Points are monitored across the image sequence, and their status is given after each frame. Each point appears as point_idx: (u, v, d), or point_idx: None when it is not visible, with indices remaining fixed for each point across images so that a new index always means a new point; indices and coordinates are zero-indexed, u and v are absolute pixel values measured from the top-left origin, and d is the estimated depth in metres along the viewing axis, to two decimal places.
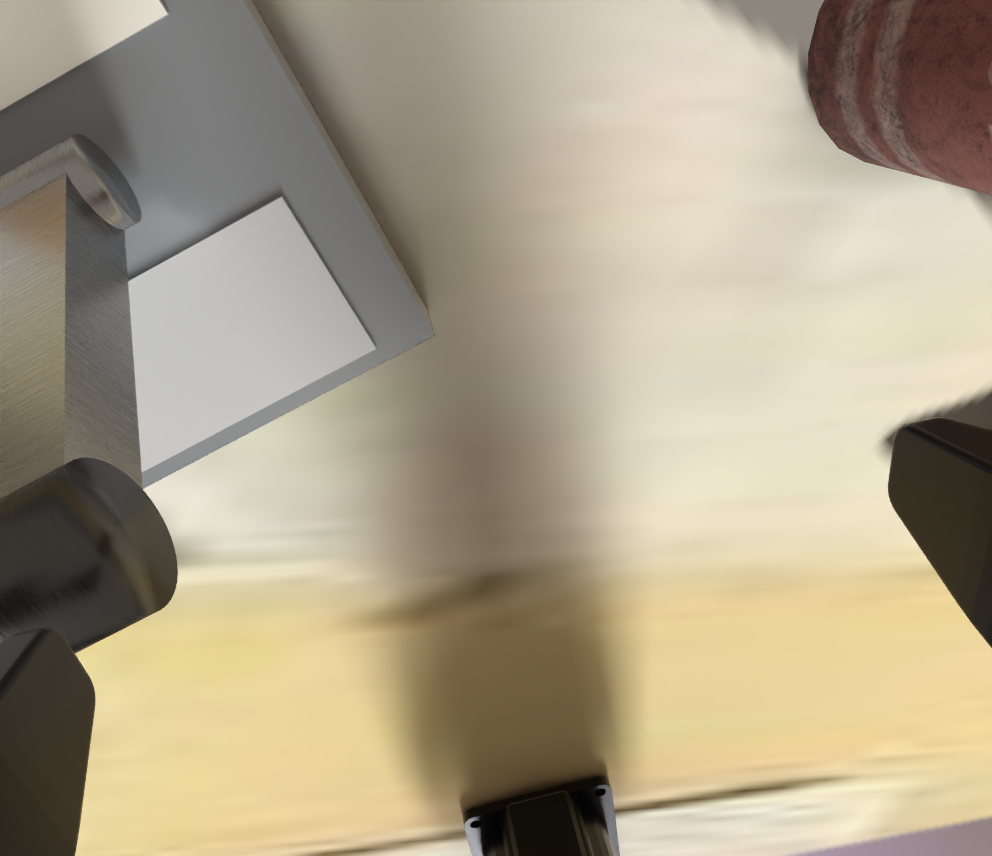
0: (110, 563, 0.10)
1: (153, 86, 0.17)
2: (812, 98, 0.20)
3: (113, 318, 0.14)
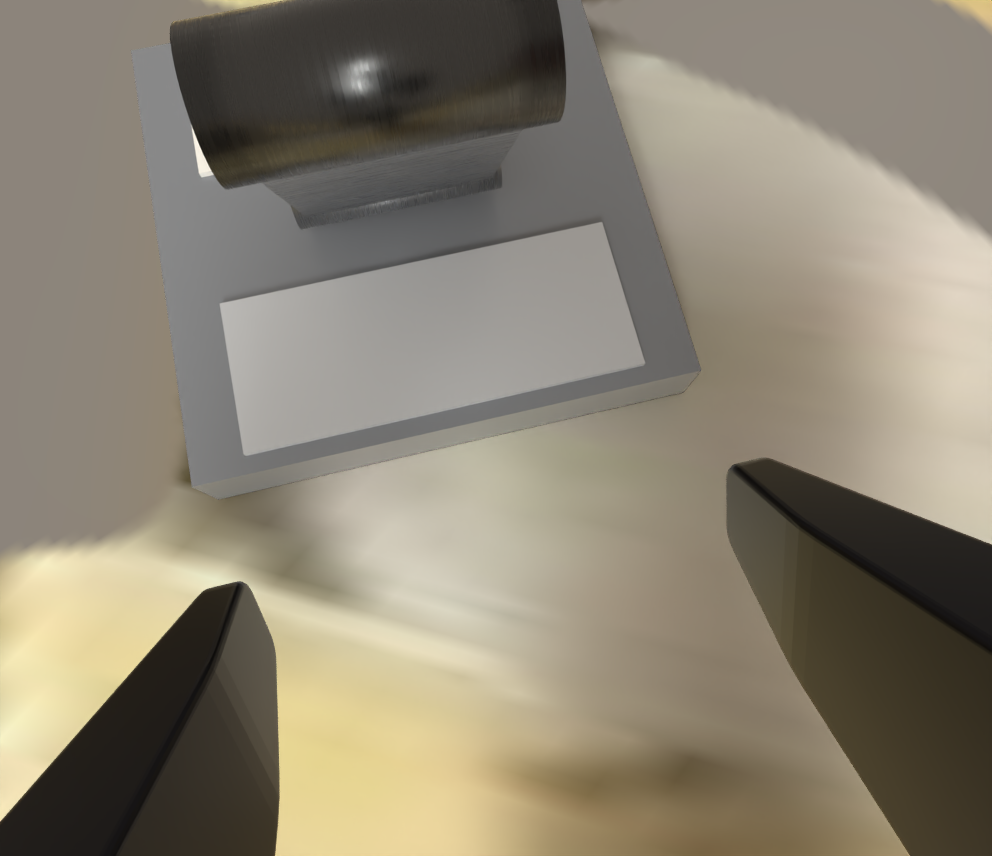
0: None
1: (535, 139, 0.23)
2: None
3: None
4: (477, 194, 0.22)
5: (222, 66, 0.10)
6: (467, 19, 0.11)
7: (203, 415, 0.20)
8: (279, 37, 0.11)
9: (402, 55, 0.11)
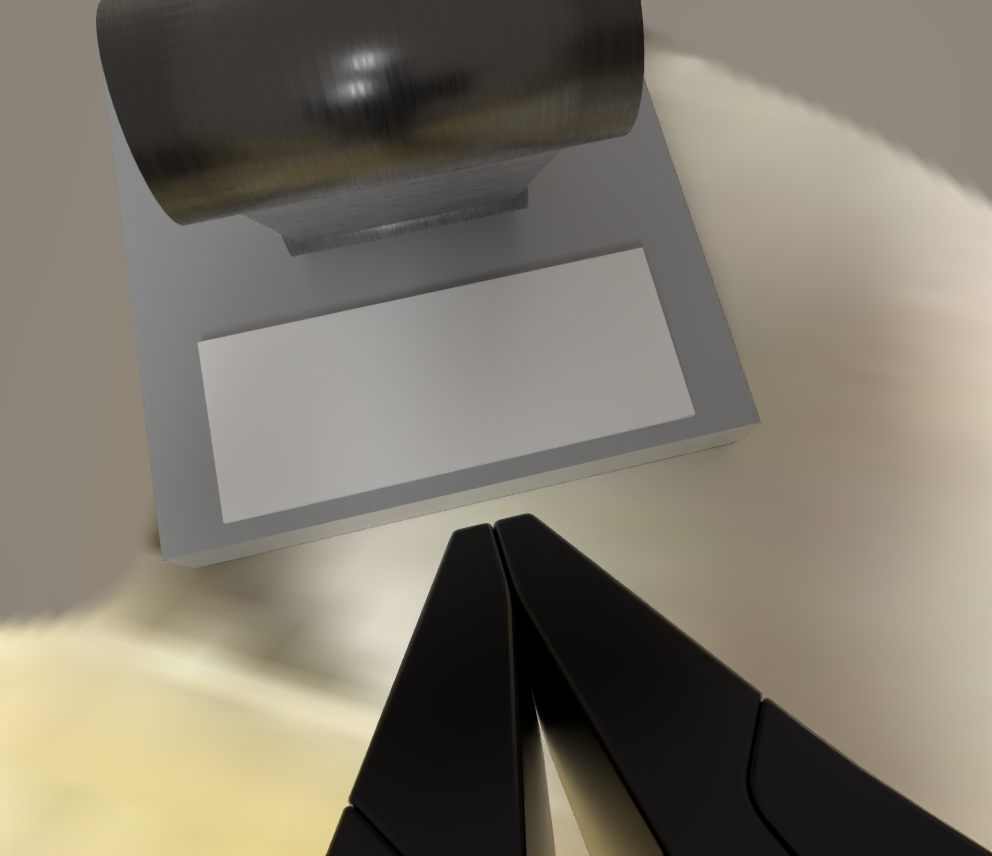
0: None
1: (563, 151, 0.20)
2: None
3: None
4: (497, 214, 0.19)
5: (168, 60, 0.07)
6: None
7: (177, 474, 0.17)
8: (249, 19, 0.08)
9: (420, 45, 0.08)
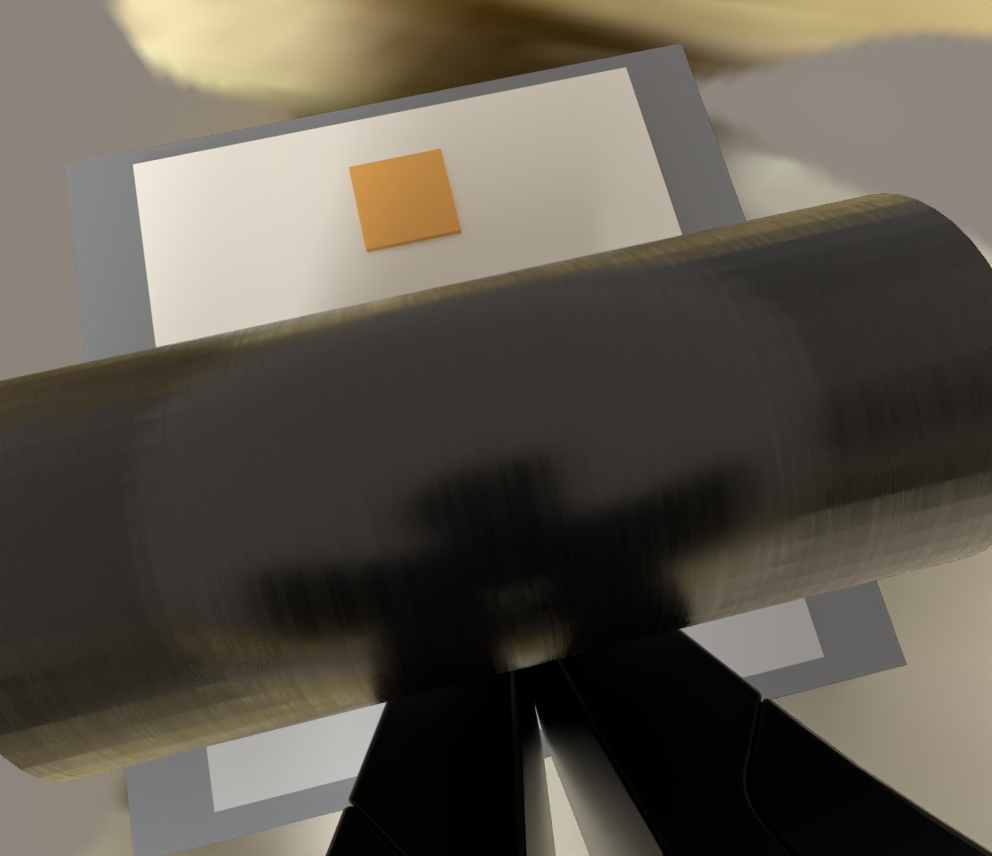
0: None
1: None
2: None
3: None
4: None
5: (71, 597, 0.03)
6: (783, 428, 0.04)
7: None
8: (244, 494, 0.04)
9: (598, 532, 0.04)
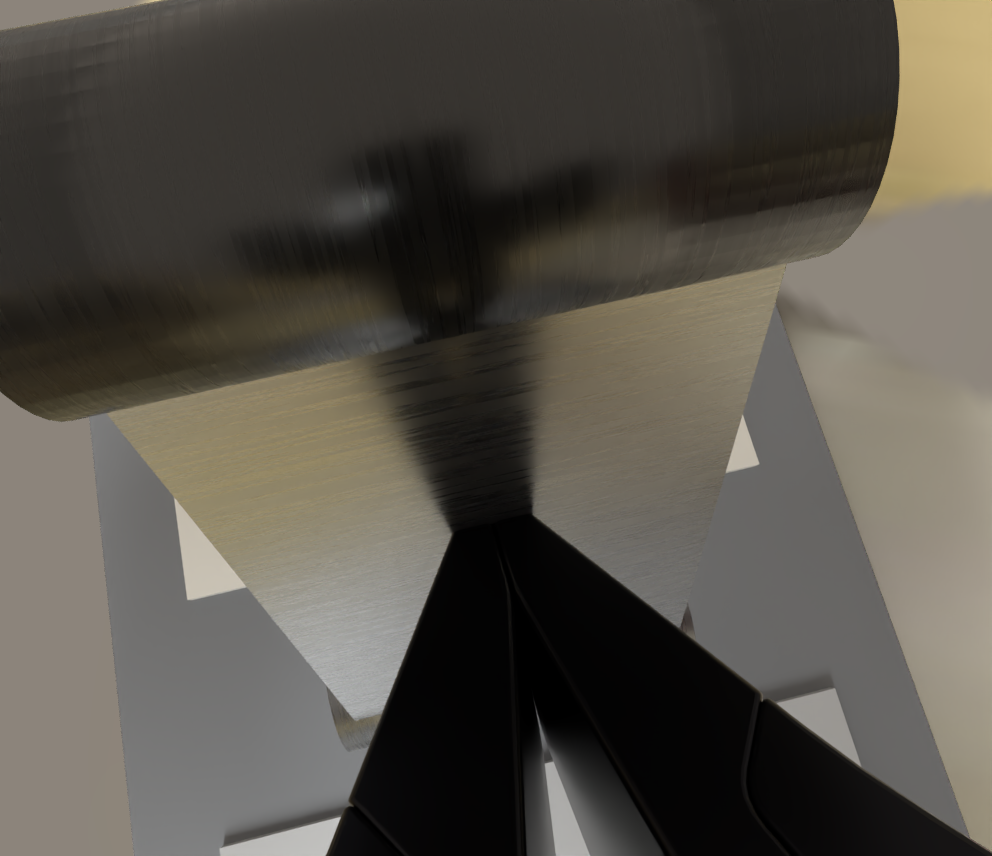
0: None
1: (715, 529, 0.14)
2: None
3: None
4: None
5: (11, 33, 0.04)
6: None
7: None
8: None
9: None
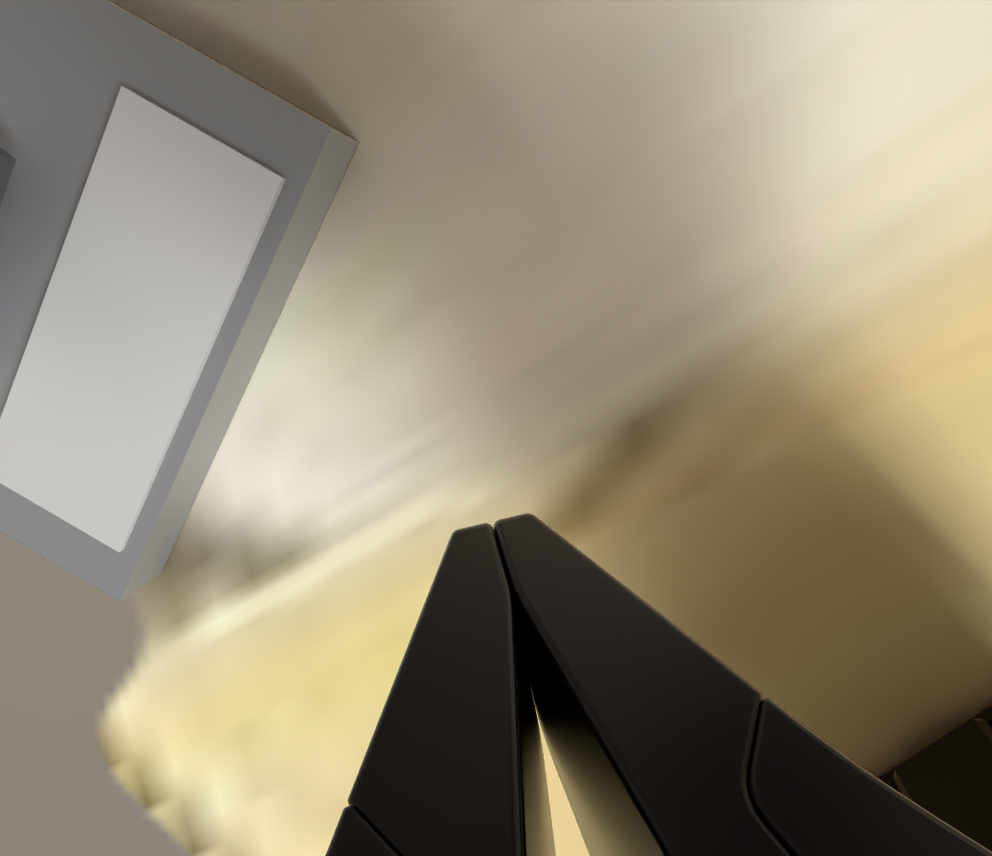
0: None
1: None
2: None
3: None
4: (19, 176, 0.19)
5: None
6: None
7: (69, 552, 0.21)
8: None
9: None
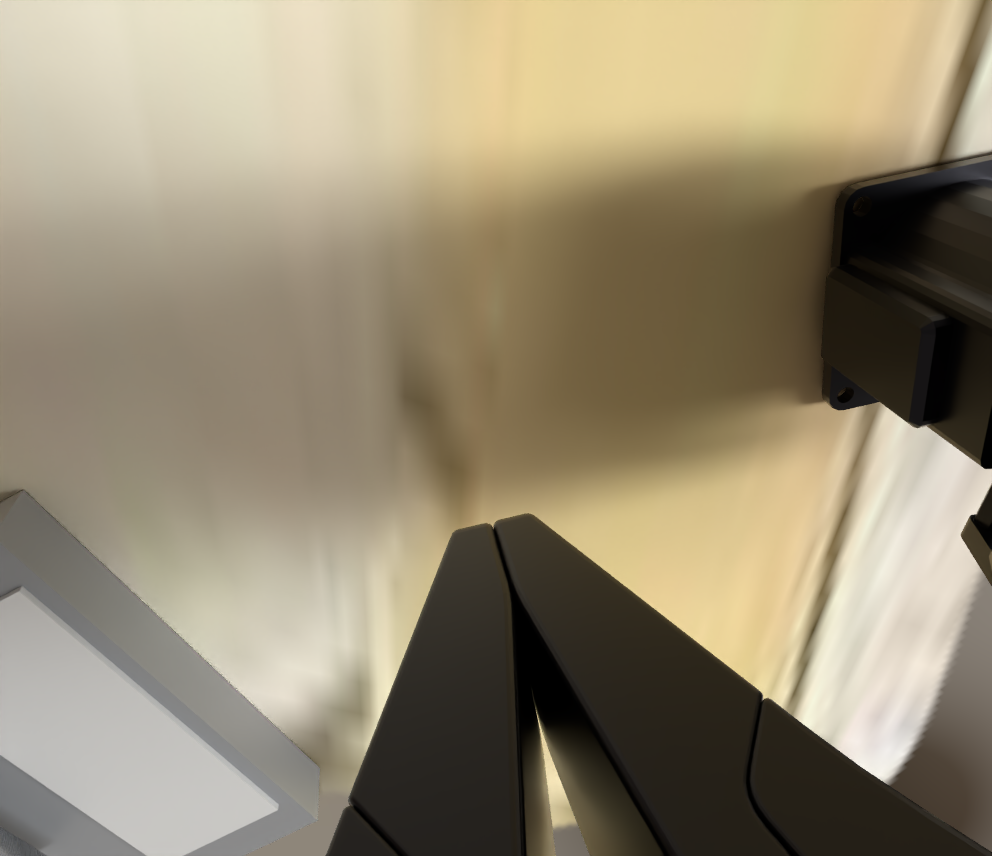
0: None
1: None
2: None
3: None
4: None
5: None
6: None
7: (259, 835, 0.25)
8: None
9: None
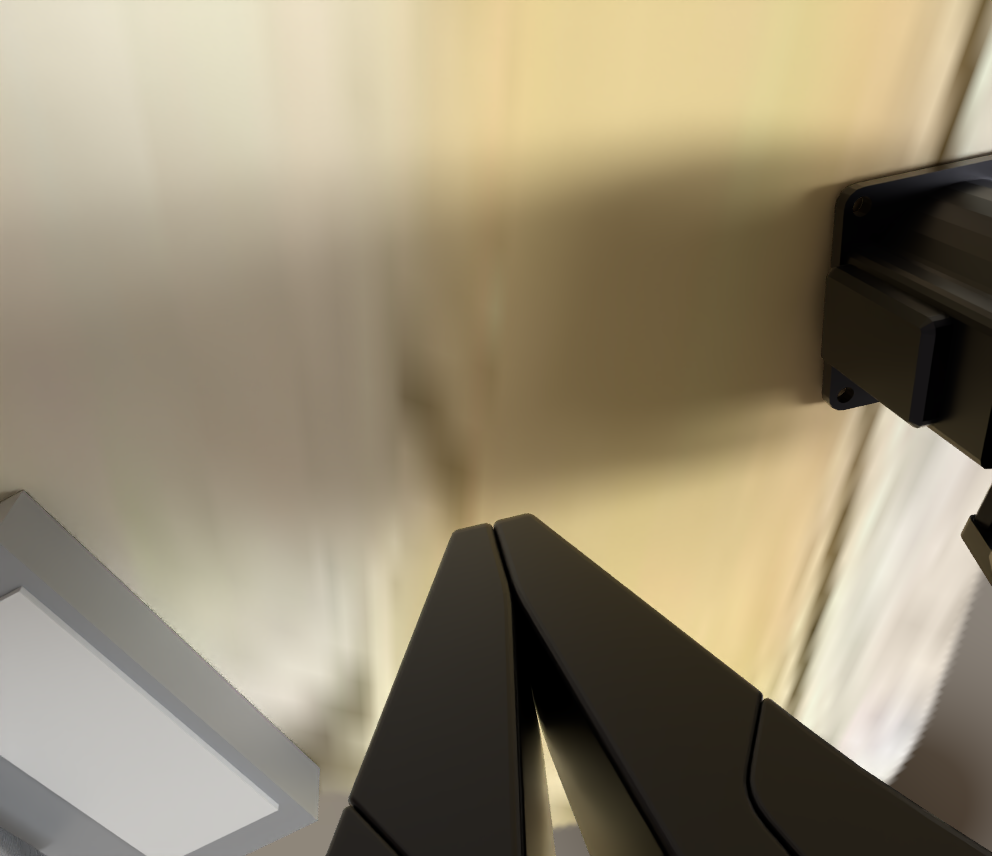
0: None
1: None
2: None
3: None
4: None
5: None
6: None
7: (259, 835, 0.25)
8: None
9: None
